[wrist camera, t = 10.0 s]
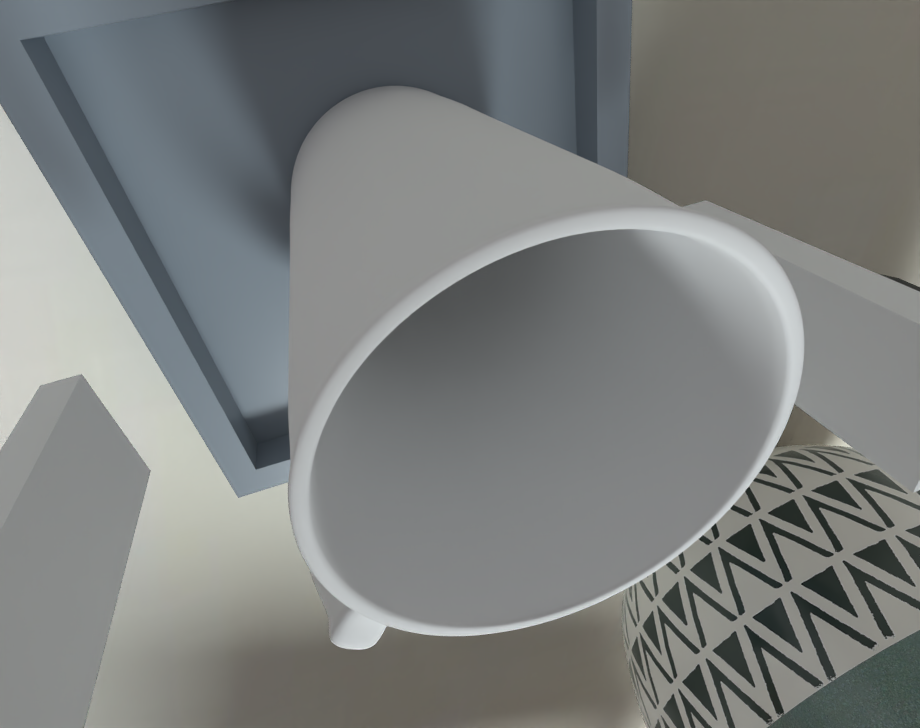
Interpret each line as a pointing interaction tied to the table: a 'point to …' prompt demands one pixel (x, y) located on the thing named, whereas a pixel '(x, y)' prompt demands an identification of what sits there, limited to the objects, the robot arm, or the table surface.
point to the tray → (265, 152)
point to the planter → (787, 605)
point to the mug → (511, 371)
